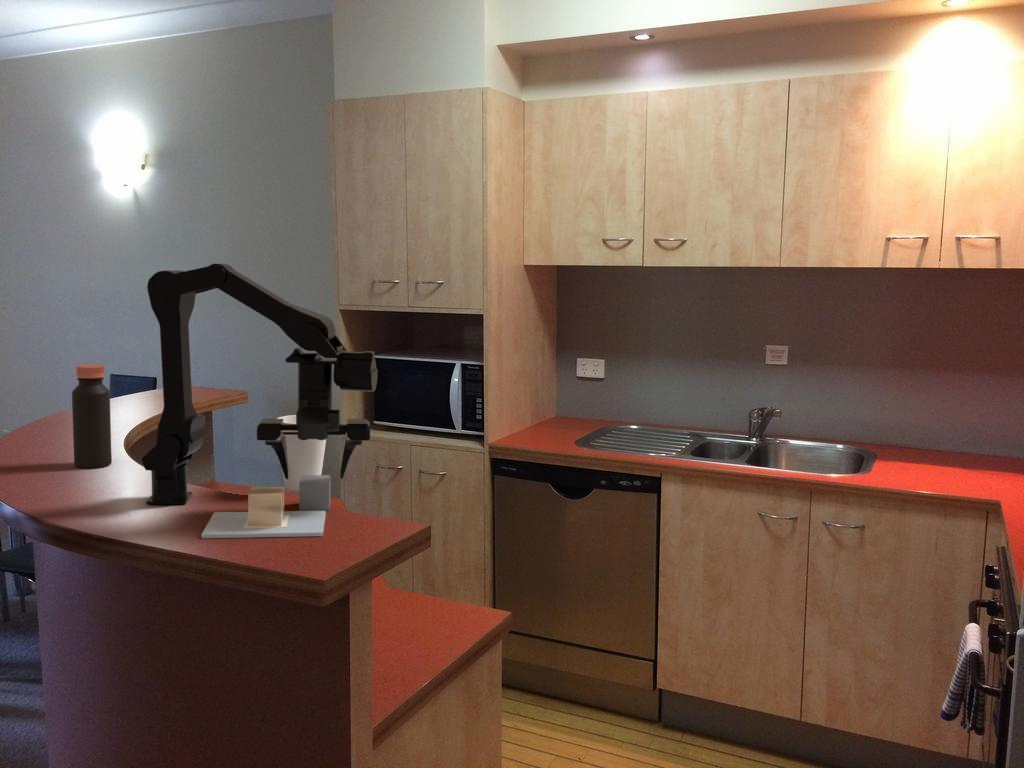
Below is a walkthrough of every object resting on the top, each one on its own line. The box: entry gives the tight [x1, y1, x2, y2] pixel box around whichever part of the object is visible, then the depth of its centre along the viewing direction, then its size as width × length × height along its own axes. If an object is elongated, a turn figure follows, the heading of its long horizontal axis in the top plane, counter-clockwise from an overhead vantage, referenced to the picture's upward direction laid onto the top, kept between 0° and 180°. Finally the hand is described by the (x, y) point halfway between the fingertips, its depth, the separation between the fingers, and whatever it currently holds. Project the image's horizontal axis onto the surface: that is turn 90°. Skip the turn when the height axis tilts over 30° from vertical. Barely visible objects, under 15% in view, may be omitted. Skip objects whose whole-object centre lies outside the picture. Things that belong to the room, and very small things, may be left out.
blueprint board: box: [200, 510, 327, 539], centre depth 141 cm, size 12×18×1 cm, turn 100°
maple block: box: [247, 486, 285, 526], centre depth 141 cm, size 5×5×5 cm
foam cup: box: [276, 414, 327, 493], centre depth 165 cm, size 10×9×13 cm
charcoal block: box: [298, 474, 331, 511], centre depth 153 cm, size 5×5×5 cm
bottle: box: [71, 364, 113, 470], centre depth 176 cm, size 7×7×20 cm
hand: (314, 478), depth 153 cm, fingers open, 9 cm apart
